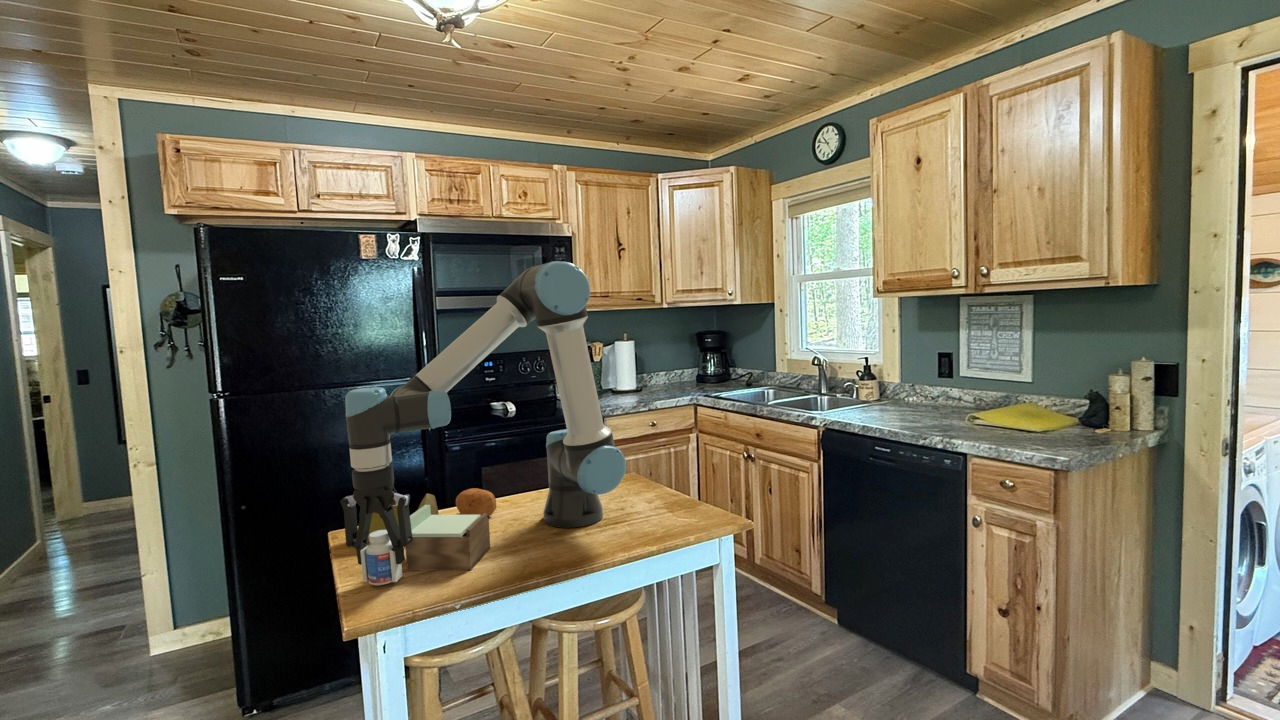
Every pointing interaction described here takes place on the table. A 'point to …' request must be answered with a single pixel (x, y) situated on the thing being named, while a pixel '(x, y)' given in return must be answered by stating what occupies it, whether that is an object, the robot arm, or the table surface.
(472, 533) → the box
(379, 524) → the flower pot
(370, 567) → the pill bottle
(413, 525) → the lid
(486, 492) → the potato
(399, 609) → the table surface
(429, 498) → the rock
